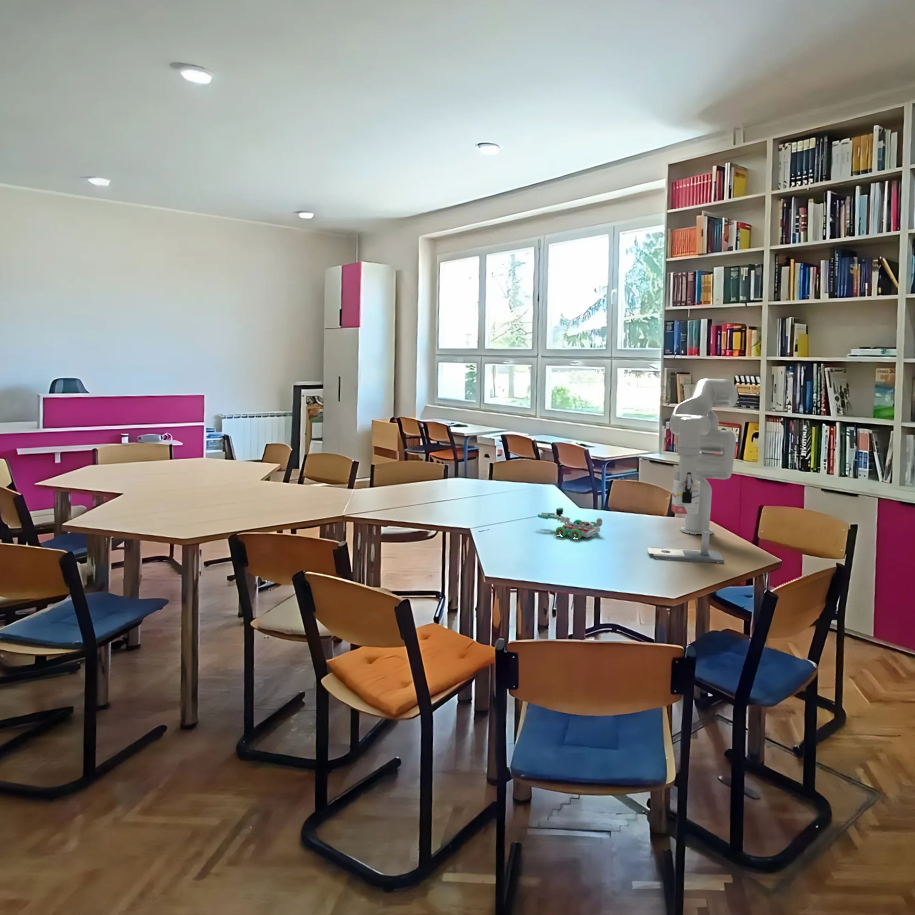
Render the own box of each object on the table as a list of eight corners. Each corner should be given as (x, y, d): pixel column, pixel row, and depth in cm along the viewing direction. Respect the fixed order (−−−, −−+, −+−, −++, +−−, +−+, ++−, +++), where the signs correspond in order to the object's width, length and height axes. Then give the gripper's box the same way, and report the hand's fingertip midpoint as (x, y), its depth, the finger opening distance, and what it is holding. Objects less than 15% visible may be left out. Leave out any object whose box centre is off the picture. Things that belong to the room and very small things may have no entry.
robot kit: (548, 524, 308) (549, 502, 307) (605, 533, 295) (606, 510, 294) (526, 533, 293) (527, 509, 292) (586, 542, 279) (587, 518, 278)
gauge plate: (646, 549, 270) (648, 524, 268) (717, 554, 265) (719, 529, 264) (649, 558, 258) (650, 532, 257) (723, 563, 254) (725, 536, 253)
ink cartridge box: (675, 514, 270) (677, 473, 267) (671, 511, 275) (673, 471, 272) (698, 514, 270) (701, 473, 268) (694, 511, 275) (696, 471, 273)
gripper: (675, 448, 278) (672, 495, 281) (680, 455, 261) (677, 505, 264) (696, 448, 277) (693, 496, 279) (702, 455, 260) (699, 506, 263)
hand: (685, 500), depth 272 cm, fingers closed on ink cartridge box, 5 cm apart
